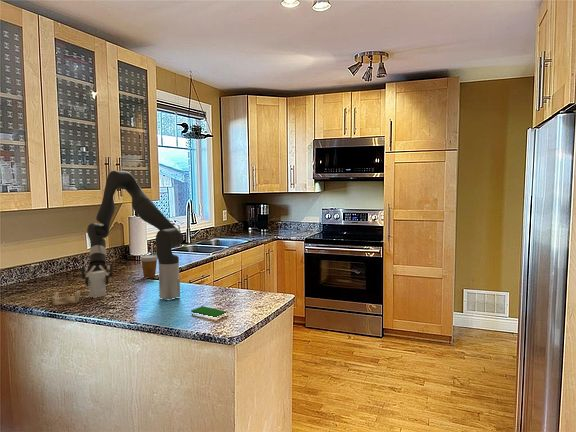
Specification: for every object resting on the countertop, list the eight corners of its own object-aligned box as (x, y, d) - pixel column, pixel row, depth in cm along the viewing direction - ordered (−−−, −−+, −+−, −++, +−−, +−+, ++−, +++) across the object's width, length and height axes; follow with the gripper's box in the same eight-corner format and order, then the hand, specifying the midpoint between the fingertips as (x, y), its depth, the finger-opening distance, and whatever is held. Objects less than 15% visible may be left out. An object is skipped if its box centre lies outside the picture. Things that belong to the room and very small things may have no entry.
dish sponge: (202, 311, 178) (202, 305, 178) (227, 317, 171) (227, 311, 171) (190, 315, 172) (190, 310, 172) (215, 322, 165) (215, 316, 165)
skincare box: (100, 294, 202) (99, 270, 200) (106, 295, 199) (105, 271, 198) (89, 297, 196) (88, 272, 195) (94, 298, 194) (93, 273, 193)
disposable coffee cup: (160, 275, 241) (160, 254, 240) (153, 279, 231) (153, 258, 230) (145, 274, 242) (144, 254, 241) (137, 278, 232) (137, 257, 231)
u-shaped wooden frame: (80, 296, 198) (79, 290, 197) (77, 302, 188) (77, 296, 187) (56, 298, 194) (56, 292, 194) (52, 305, 184) (52, 298, 184)
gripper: (81, 253, 200) (79, 281, 191) (112, 251, 205) (113, 279, 196) (82, 261, 206) (81, 290, 196) (113, 259, 211) (113, 287, 201)
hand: (97, 284), depth 196 cm, fingers open, 7 cm apart
